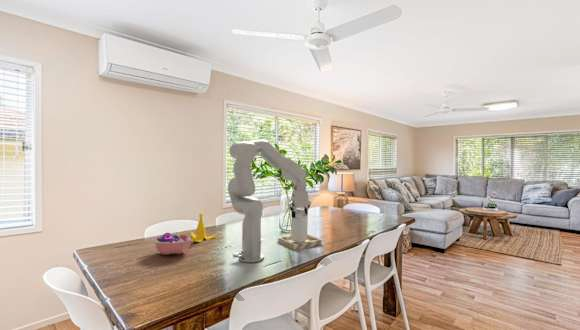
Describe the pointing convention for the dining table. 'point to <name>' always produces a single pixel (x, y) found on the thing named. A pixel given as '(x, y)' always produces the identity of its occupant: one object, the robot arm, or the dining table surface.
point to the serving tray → (294, 245)
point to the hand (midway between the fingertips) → (299, 216)
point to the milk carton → (299, 226)
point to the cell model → (172, 243)
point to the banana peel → (201, 232)
